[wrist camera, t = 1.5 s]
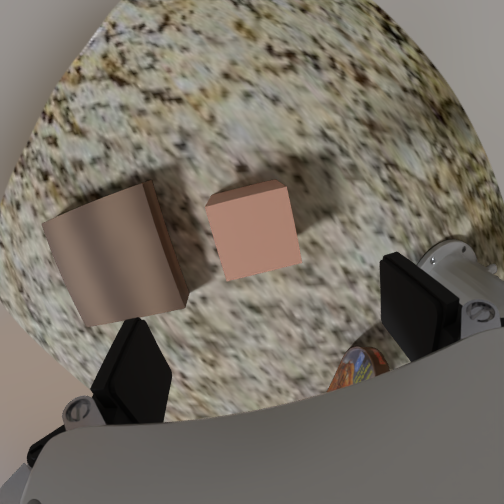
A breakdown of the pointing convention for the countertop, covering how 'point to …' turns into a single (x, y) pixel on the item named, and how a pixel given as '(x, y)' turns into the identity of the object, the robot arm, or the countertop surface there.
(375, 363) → the tin
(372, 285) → the countertop surface
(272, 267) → the cube
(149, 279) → the base
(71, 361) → the countertop surface
